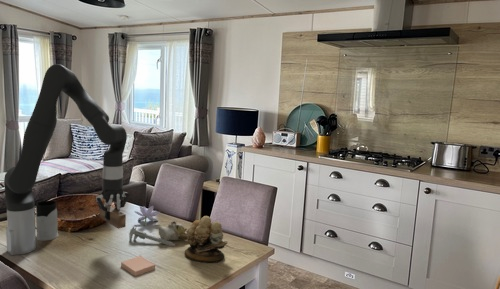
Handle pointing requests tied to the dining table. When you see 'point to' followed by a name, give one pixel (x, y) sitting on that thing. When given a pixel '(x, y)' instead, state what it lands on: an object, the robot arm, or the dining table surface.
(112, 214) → the walnut bar
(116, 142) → the robot arm
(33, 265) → the dining table surface
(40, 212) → the glass holder
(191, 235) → the owl figurine
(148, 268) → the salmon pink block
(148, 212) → the water lily
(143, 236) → the caliper
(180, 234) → the ceramic sculpture
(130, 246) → the dining table surface
